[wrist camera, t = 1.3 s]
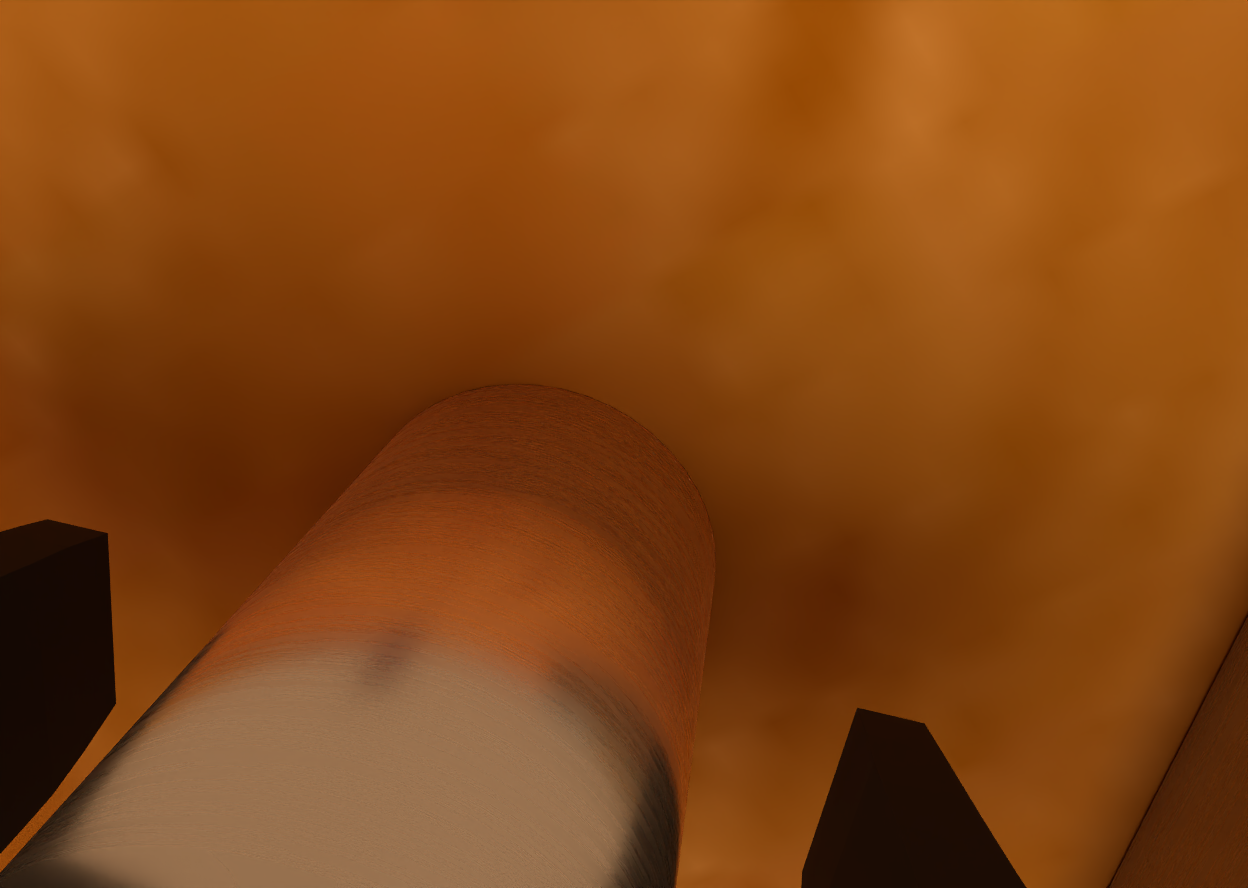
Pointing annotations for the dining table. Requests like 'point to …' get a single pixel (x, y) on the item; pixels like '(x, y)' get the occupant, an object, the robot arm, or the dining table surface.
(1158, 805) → the metal base plate
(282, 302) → the dining table surface
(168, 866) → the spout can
